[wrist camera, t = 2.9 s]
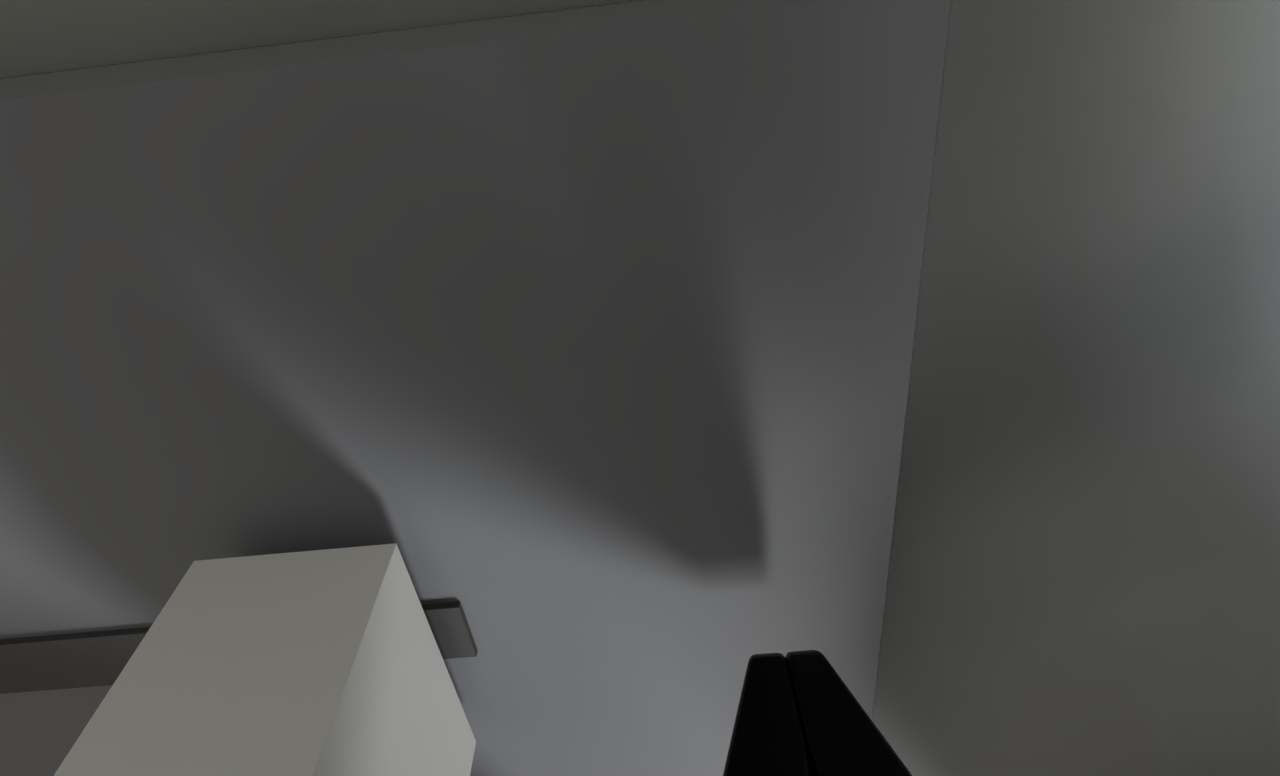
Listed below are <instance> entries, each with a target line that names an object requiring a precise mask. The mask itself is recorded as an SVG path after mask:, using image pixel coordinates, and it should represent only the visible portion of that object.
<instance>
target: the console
mask: <svg viewBox="0 0 1280 776" xmlns="http://www.w3.org/2000/svg"><path fill="white" fill-rule="evenodd" d="M950 8H951V0H641V1H632V2H624V3H616V4H608V5H600V6H591V7H583V8H575V9H567V10H559V11H550V12H542V13H534V14H526V15H518V16H509V17H501V18H493V19H485V20H477V21H468V22H460V23H452V24H444V25H436V26H428V27H419V28H411V29H403V30H395V31H387V32H378V33H370V34H362V35H354V36H346V37H337V38H329V39H321V40H313V41H305V42H296V43H288V44H280V45H272V46H264V47H255V48H247V49H239V50H231V51H223V52H214V53H206V54H198V55H190V56H182V57H173V58H165V59H157V60H149V61H141V62H132V63H124V64H116V65H108V66H100V67H92V68H83V69H75V70H67V71H59V72H51V73H42V74H34V75H26V76H18V77H10V78H1V79H0V776H54V774H55V773H56V771H57V770H58V768H59V767H60V765H61V764H62V762H63V761H64V759H65V757H66V756H67V754H68V753H69V751H70V750H71V748H72V747H73V745H74V744H75V742H76V741H77V739H78V738H79V736H80V735H81V733H82V731H83V730H84V728H85V727H86V725H87V724H88V722H89V721H90V719H91V718H92V716H93V715H94V713H95V712H96V710H97V708H98V707H99V705H100V704H101V702H102V701H103V699H104V698H105V696H106V695H107V693H108V692H109V690H110V689H111V687H112V686H113V684H114V682H115V681H116V679H117V678H118V676H119V675H120V673H121V672H122V670H123V669H124V667H125V666H126V664H127V663H128V661H129V660H130V658H131V656H132V655H133V653H134V652H135V650H136V649H137V647H138V646H139V644H140V643H141V641H142V640H143V638H144V637H145V635H146V633H147V632H148V630H149V629H150V627H151V626H152V624H153V623H154V621H155V620H156V618H157V617H158V615H159V614H160V612H161V611H162V609H163V607H164V606H165V604H166V603H167V601H168V600H169V598H170V597H171V595H172V594H173V592H174V591H175V589H176V588H177V586H178V585H179V583H180V581H181V580H182V578H183V577H184V575H185V574H186V572H187V571H188V569H189V568H190V566H191V565H192V563H193V562H194V561H198V560H209V559H221V558H232V557H244V556H256V555H267V554H279V553H290V552H302V551H313V550H325V549H336V548H348V547H359V546H371V545H382V544H394V543H396V544H397V546H398V549H399V551H400V554H401V556H402V559H403V561H404V564H405V566H406V568H407V571H408V573H409V576H410V578H411V581H412V583H413V586H414V588H415V591H416V593H417V596H418V598H419V601H420V603H421V606H422V608H423V611H424V613H425V616H426V618H427V621H428V623H429V626H430V628H431V631H432V633H433V636H434V638H435V641H436V643H437V646H438V648H439V651H440V653H441V655H442V658H443V660H444V663H445V665H446V668H447V670H448V673H449V675H450V678H451V680H452V683H453V685H454V688H455V690H456V693H457V695H458V698H459V700H460V703H461V705H462V708H463V710H464V713H465V715H466V718H467V720H468V723H469V725H470V728H471V730H472V733H473V735H474V738H475V740H476V745H475V751H474V756H473V762H472V767H471V773H470V776H723V773H724V768H725V764H726V759H727V755H728V750H729V746H730V741H731V737H732V732H733V728H734V723H735V719H736V714H737V710H738V705H739V701H740V696H741V692H742V687H743V683H744V678H745V674H746V669H747V665H748V661H749V658H750V657H751V656H752V655H754V654H765V653H781V654H783V655H784V657H785V656H786V654H787V653H788V652H791V651H804V650H818V651H820V652H821V653H822V654H823V655H824V656H825V657H826V658H827V660H828V661H829V663H830V664H831V665H832V667H833V668H834V669H835V671H836V672H837V673H838V675H839V676H840V678H841V679H842V680H843V682H844V683H845V684H846V686H847V687H848V689H849V690H850V691H851V693H852V694H853V695H854V697H855V698H856V699H857V701H858V702H859V704H860V705H861V706H862V708H863V709H864V710H865V712H866V713H867V715H868V716H869V717H870V719H871V720H872V717H873V708H874V699H875V690H876V680H877V671H878V662H879V653H880V644H881V635H882V626H883V617H884V608H885V599H886V590H887V581H888V571H889V562H890V553H891V544H892V535H893V526H894V517H895V508H896V499H897V490H898V481H899V472H900V462H901V453H902V444H903V435H904V426H905V417H906V408H907V399H908V390H909V381H910V372H911V363H912V353H913V344H914V335H915V326H916V317H917V308H918V299H919V290H920V281H921V272H922V263H923V254H924V244H925V235H926V226H927V217H928V208H929V199H930V190H931V181H932V172H933V163H934V154H935V145H936V135H937V126H938V117H939V108H940V99H941V90H942V81H943V72H944V63H945V54H946V45H947V36H948V26H949V17H950Z"/></svg>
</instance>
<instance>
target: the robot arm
mask: <svg viewBox="0 0 1280 776" xmlns="http://www.w3.org/2000/svg"><path fill="white" fill-rule="evenodd" d="M723 776H912V775H911V773H910V772H909V771H908V769H907V768H906V767H905V765H904V764H903V762H902V761H901V760H900V758H899V757H898V756H897V754H896V753H895V752H894V750H893V749H892V747H891V746H890V745H889V743H888V742H887V741H886V739H885V738H884V736H883V735H882V734H881V732H880V731H879V730H878V728H877V727H876V726H875V724H874V723H873V721H872V720H871V719H870V717H869V716H868V715H867V713H866V712H865V710H864V709H863V708H862V706H861V705H860V704H859V702H858V701H857V699H856V698H855V697H854V695H853V694H852V693H851V691H850V690H849V689H848V687H847V686H846V684H845V683H844V682H843V680H842V679H841V678H840V676H839V675H838V673H837V672H836V671H835V669H834V668H833V667H832V665H831V664H830V663H829V661H828V660H827V658H826V657H825V656H824V655H823V654H822V653H821V652H820V651H818V650H804V651H791V652H788V653H787V654H786V656H785V657H784V655H783V654H781V653H765V654H754V655H752V656H751V657H750V658H749V661H748V665H747V669H746V674H745V678H744V683H743V687H742V692H741V696H740V701H739V705H738V710H737V714H736V719H735V723H734V728H733V732H732V737H731V741H730V746H729V750H728V755H727V759H726V764H725V768H724V773H723Z"/></svg>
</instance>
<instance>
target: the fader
mask: <svg viewBox="0 0 1280 776" xmlns="http://www.w3.org/2000/svg"><path fill="white" fill-rule="evenodd" d="M475 745H476V740H475V738H474V735H473V733H472V730H471V728H470V725H469V723H468V720H467V718H466V715H465V713H464V710H463V708H462V705H461V703H460V700H459V698H458V695H457V693H456V690H455V688H454V685H453V683H452V680H451V678H450V675H449V673H448V670H447V668H446V665H445V663H444V660H443V658H442V655H441V653H440V651H439V648H438V646H437V643H436V641H435V638H434V636H433V633H432V631H431V628H430V626H429V623H428V621H427V618H426V616H425V613H424V611H423V608H422V606H421V603H420V601H419V598H418V596H417V593H416V591H415V588H414V586H413V583H412V581H411V578H410V576H409V573H408V571H407V568H406V566H405V564H404V561H403V559H402V556H401V554H400V551H399V549H398V546H397V544H396V543H394V544H382V545H371V546H359V547H348V548H336V549H325V550H313V551H302V552H290V553H279V554H267V555H256V556H244V557H232V558H221V559H209V560H198V561H194V562H193V563H192V565H191V566H190V568H189V569H188V571H187V572H186V574H185V575H184V577H183V578H182V580H181V581H180V583H179V585H178V586H177V588H176V589H175V591H174V592H173V594H172V595H171V597H170V598H169V600H168V601H167V603H166V604H165V606H164V607H163V609H162V611H161V612H160V614H159V615H158V617H157V618H156V620H155V621H154V623H153V624H152V626H151V627H150V629H149V630H148V632H147V633H146V635H145V637H144V638H143V640H142V641H141V643H140V644H139V646H138V647H137V649H136V650H135V652H134V653H133V655H132V656H131V658H130V660H129V661H128V663H127V664H126V666H125V667H124V669H123V670H122V672H121V673H120V675H119V676H118V678H117V679H116V681H115V682H114V684H113V686H112V687H111V689H110V690H109V692H108V693H107V695H106V696H105V698H104V699H103V701H102V702H101V704H100V705H99V707H98V708H97V710H96V712H95V713H94V715H93V716H92V718H91V719H90V721H89V722H88V724H87V725H86V727H85V728H84V730H83V731H82V733H81V735H80V736H79V738H78V739H77V741H76V742H75V744H74V745H73V747H72V748H71V750H70V751H69V753H68V754H67V756H66V757H65V759H64V761H63V762H62V764H61V765H60V767H59V768H58V770H57V771H56V773H55V774H54V776H470V773H471V767H472V762H473V756H474V751H475Z"/></svg>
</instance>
